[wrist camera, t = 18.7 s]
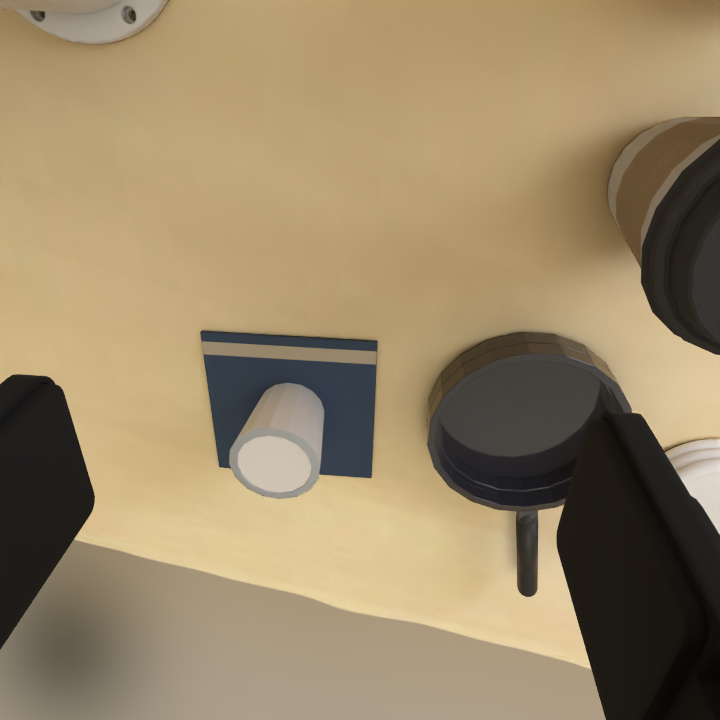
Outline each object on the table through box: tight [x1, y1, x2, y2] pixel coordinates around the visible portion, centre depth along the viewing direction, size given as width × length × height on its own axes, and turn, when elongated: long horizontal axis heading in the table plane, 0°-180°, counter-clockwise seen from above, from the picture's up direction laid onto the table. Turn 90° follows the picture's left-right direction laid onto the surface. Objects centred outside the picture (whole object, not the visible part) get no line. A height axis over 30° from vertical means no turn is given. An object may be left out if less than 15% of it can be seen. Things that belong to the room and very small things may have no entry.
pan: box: [426, 333, 632, 512], centre depth 44 cm, size 15×15×4 cm
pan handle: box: [516, 509, 538, 597], centre depth 49 cm, size 12×2×2 cm, turn 9°
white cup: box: [229, 383, 324, 499], centre depth 44 cm, size 7×7×7 cm
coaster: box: [665, 439, 720, 534], centre depth 46 cm, size 10×10×4 cm
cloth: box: [200, 331, 377, 478], centre depth 47 cm, size 14×14×1 cm
